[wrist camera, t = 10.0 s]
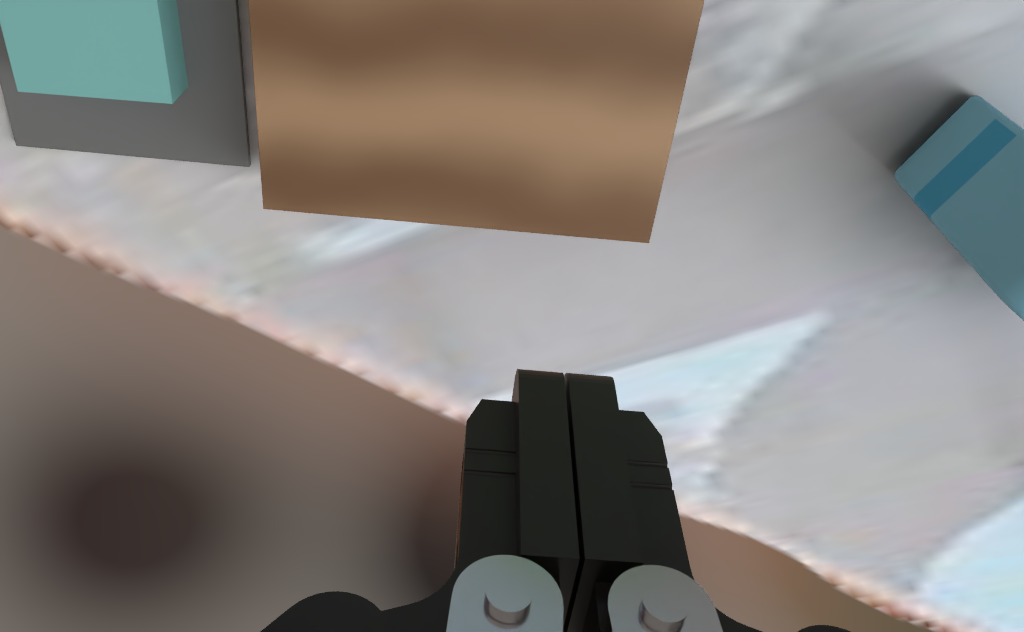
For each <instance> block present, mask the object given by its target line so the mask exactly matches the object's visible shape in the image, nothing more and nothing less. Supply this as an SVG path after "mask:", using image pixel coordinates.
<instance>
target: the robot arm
mask: <svg viewBox="0 0 1024 632" xmlns="http://www.w3.org/2000/svg"><path fill="white" fill-rule="evenodd" d="M261 632H762V631H759V630H756V629H753V628H751V627H748V626H746V625H743V624H741V623H738V622H736V621H735V620H733V619H731V618H729V617H728V616H726V615H725V614H723V613H722V612H720V611H719V610H718V609H716V608H715V606H714V604H713V602H712V600H711V599H710V597H709V596H708V594H707V593H706V592H705V590H704V589H703V588H702V587H701V586H700V585H699V584H698V583H697V582H696V581H695V580H694V578H693V576H692V572H691V569H690V565H689V560H688V555H687V551H686V546H685V541H684V537H683V532H682V528H681V523H680V518H679V514H678V509H677V504H676V500H675V495H674V490H672V481H671V476H670V472H669V468H667V458H666V453H665V449H664V444H663V439H662V436H661V435H660V433H659V432H658V431H657V429H656V428H655V427H654V425H653V424H652V423H651V421H650V420H649V419H648V417H647V416H646V415H645V413H644V412H636V411H624V410H619V408H618V402H617V396H616V390H615V384H614V380H613V378H612V377H608V376H596V375H584V374H572V373H566V374H565V376H564V374H563V373H558V372H546V371H534V370H522V369H517V371H516V375H515V382H514V389H513V396H512V402H510V401H497V400H485V399H482V400H481V401H480V403H479V404H478V406H477V407H476V408H475V410H474V411H473V413H472V414H471V416H470V417H469V419H468V420H467V424H466V434H465V443H464V453H463V462H462V472H461V482H460V493H459V508H458V524H457V541H456V553H455V569H454V571H453V573H452V575H451V577H450V578H449V579H448V581H447V582H446V583H445V585H443V586H442V587H441V588H440V589H439V590H438V591H437V592H435V593H434V594H432V595H430V596H429V597H427V598H425V599H423V600H421V601H419V602H415V603H412V604H409V605H405V606H401V607H397V608H392V609H388V610H384V611H381V610H379V609H378V608H377V607H376V606H375V605H374V604H373V603H372V602H370V601H368V600H367V599H365V598H363V597H361V596H358V595H355V594H351V593H348V592H339V591H338V592H325V593H319V594H316V595H313V596H310V597H307V598H305V599H303V600H301V601H299V602H298V603H296V604H295V605H293V606H292V607H291V608H289V609H288V610H287V611H285V612H284V613H283V614H282V615H281V616H279V617H278V618H277V619H276V620H274V621H273V622H272V623H271V624H269V625H268V626H267V627H266V628H265V629H263V630H262V631H261ZM798 632H850V631H847V630H845V629H841V628H838V627H834V626H828V625H815V626H810V627H807V628H804V629H801V630H800V631H798Z"/></svg>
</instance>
